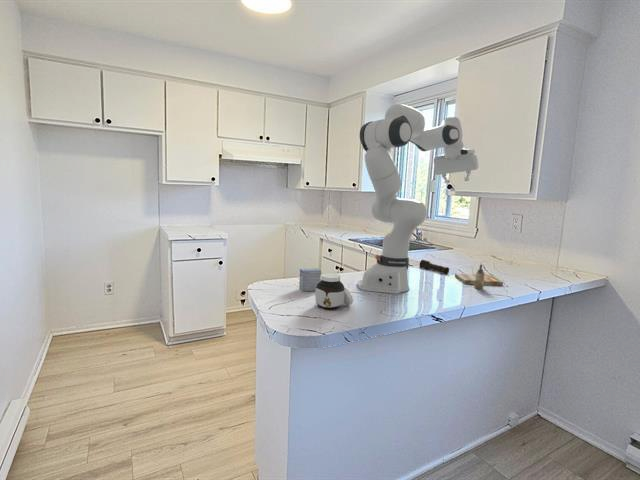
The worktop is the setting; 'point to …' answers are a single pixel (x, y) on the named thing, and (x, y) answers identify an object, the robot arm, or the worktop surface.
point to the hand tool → (434, 267)
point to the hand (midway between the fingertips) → (456, 182)
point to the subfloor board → (471, 279)
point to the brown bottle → (479, 278)
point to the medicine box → (309, 279)
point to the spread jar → (332, 292)
